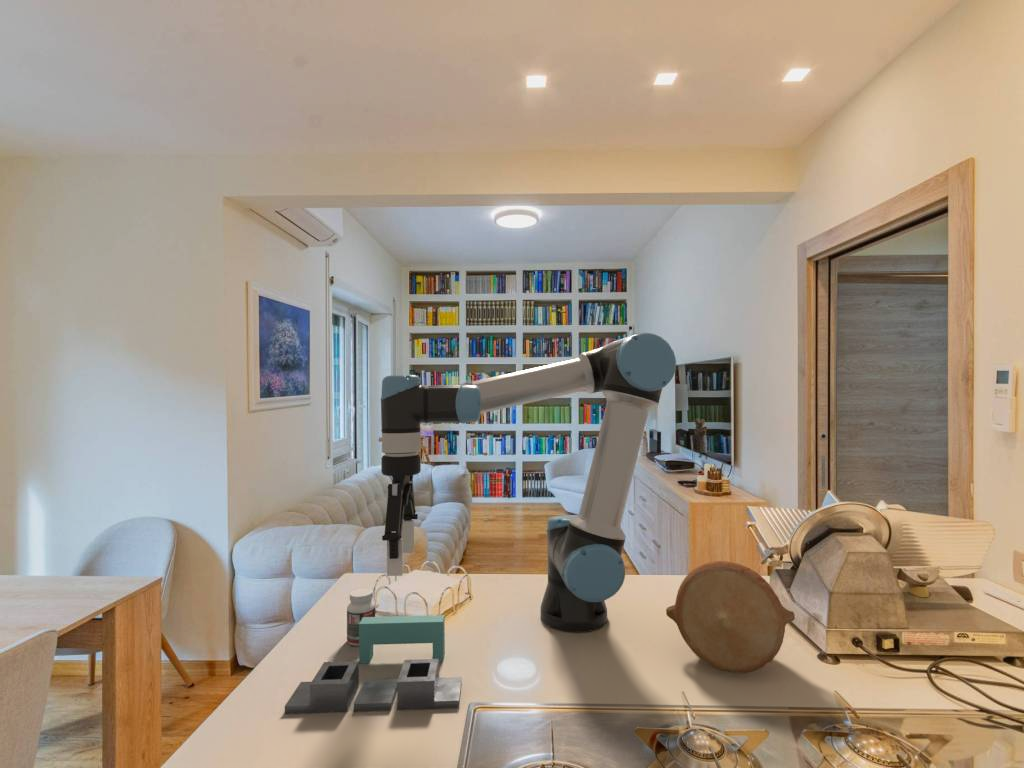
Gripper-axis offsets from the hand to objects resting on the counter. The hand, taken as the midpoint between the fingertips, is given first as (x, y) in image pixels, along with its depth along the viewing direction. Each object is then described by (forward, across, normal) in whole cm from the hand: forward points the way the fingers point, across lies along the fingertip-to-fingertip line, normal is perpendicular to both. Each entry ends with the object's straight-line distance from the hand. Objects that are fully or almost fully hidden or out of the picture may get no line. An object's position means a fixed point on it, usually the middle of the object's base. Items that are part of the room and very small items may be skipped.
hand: (401, 563), depth 100 cm
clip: (+18, 0, 0) cm, 18 cm away
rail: (+18, +13, -2) cm, 23 cm away
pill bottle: (+19, -8, -10) cm, 23 cm away
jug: (+19, 0, +65) cm, 68 cm away
